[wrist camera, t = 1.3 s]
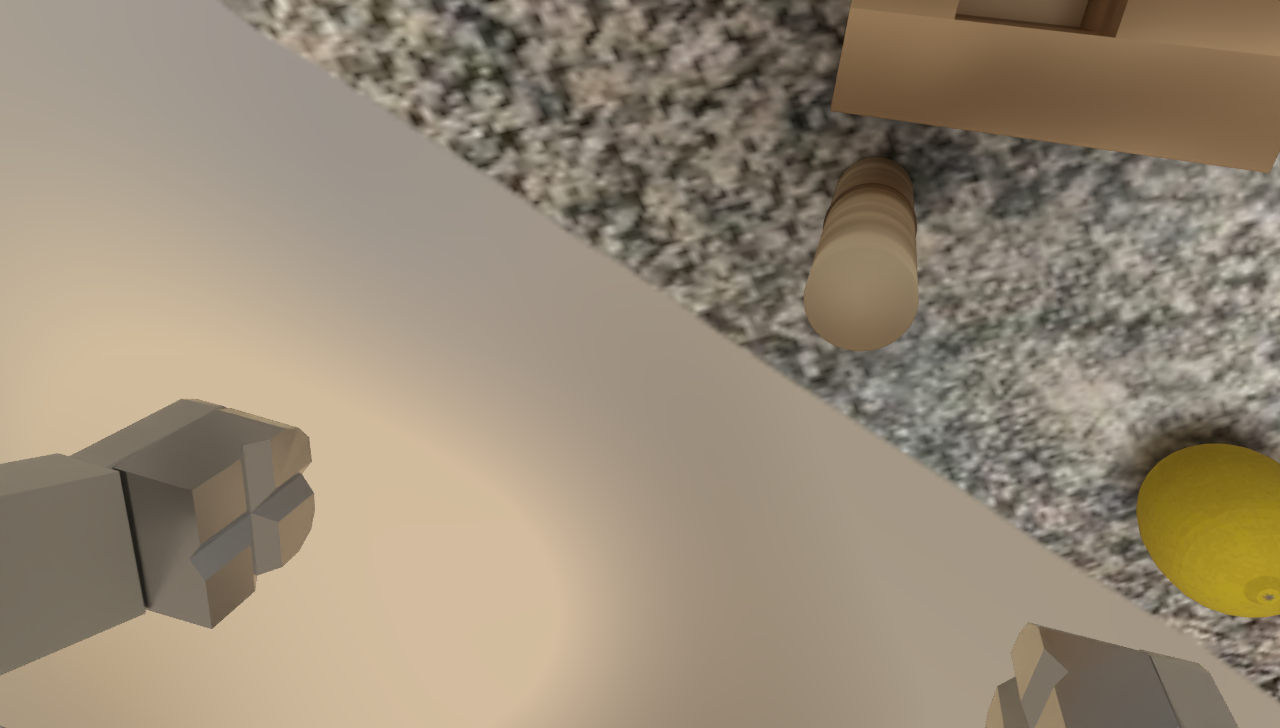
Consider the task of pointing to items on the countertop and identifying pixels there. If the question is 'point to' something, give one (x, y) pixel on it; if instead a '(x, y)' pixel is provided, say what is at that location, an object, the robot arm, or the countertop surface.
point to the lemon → (1216, 526)
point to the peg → (866, 259)
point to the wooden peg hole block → (1075, 73)
